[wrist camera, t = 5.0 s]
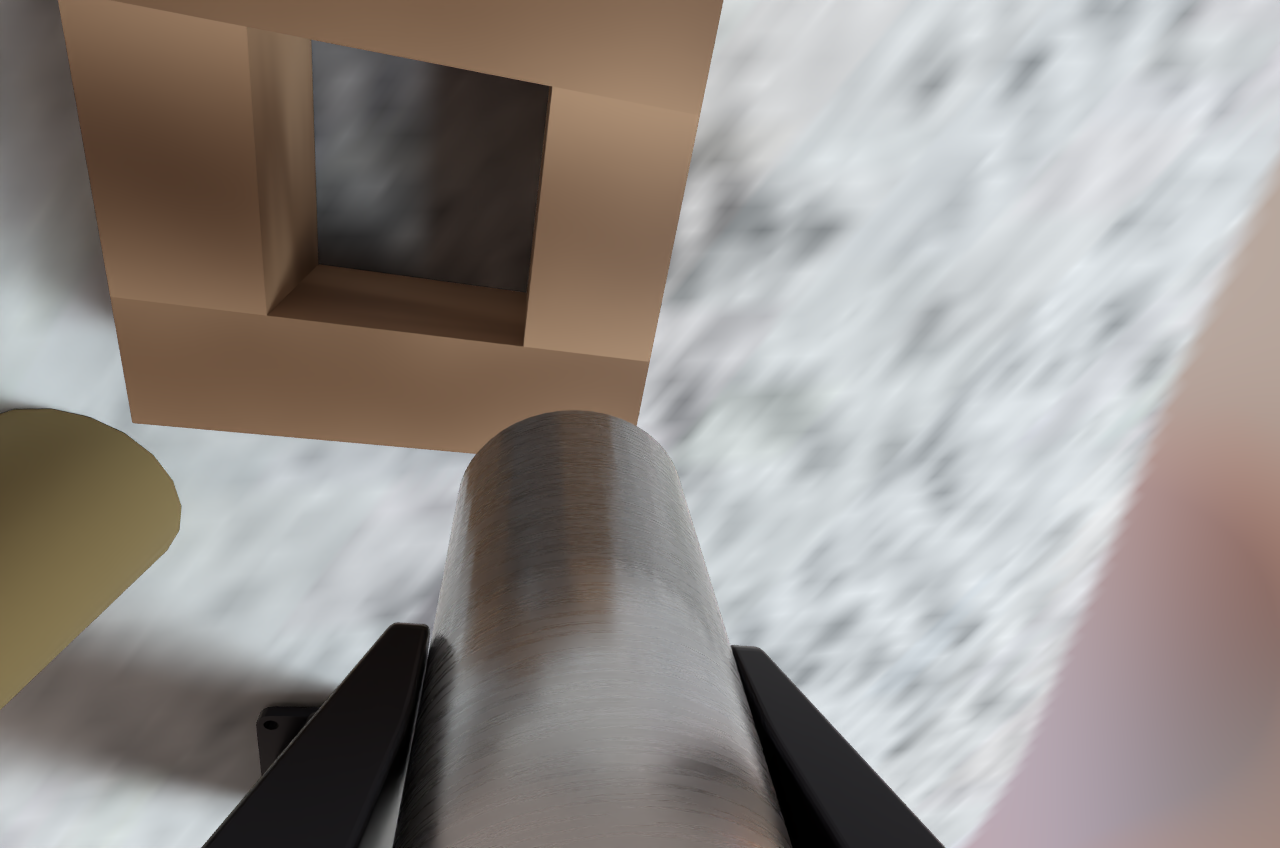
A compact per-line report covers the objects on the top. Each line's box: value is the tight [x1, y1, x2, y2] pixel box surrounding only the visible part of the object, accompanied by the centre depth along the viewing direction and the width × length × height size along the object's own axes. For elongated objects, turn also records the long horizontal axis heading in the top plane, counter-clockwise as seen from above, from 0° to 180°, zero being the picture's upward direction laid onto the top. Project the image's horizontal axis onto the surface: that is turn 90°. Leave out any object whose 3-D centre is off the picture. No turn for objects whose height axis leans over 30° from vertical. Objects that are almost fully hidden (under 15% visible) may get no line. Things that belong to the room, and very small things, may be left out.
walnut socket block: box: [58, 0, 723, 454], centre depth 16 cm, size 12×12×4 cm
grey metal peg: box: [392, 410, 792, 848], centre depth 7 cm, size 4×4×10 cm
